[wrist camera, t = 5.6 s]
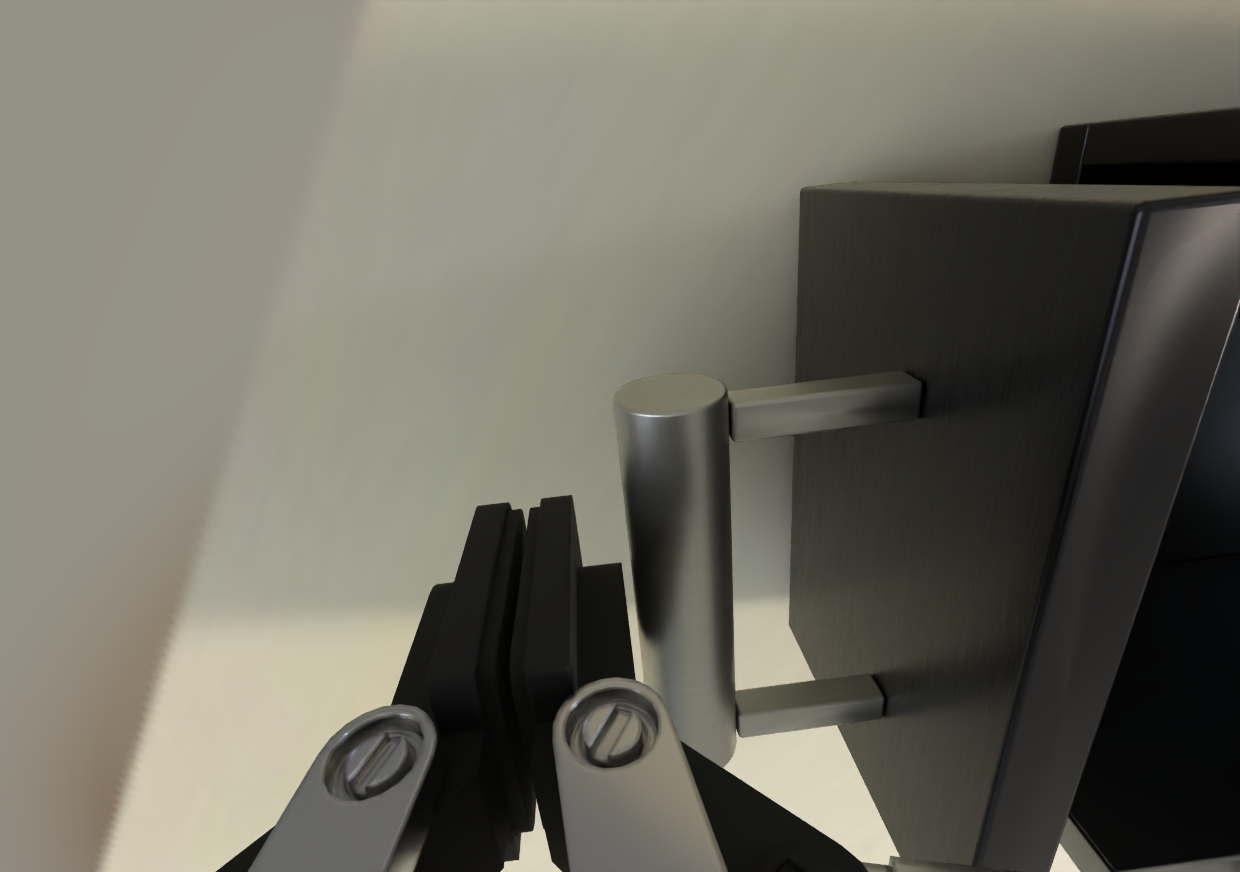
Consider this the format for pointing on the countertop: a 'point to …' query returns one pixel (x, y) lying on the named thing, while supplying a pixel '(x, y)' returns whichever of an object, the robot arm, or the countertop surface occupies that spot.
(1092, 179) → the cabinet
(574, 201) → the countertop surface
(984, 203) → the drawer
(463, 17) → the countertop surface
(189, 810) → the countertop surface
